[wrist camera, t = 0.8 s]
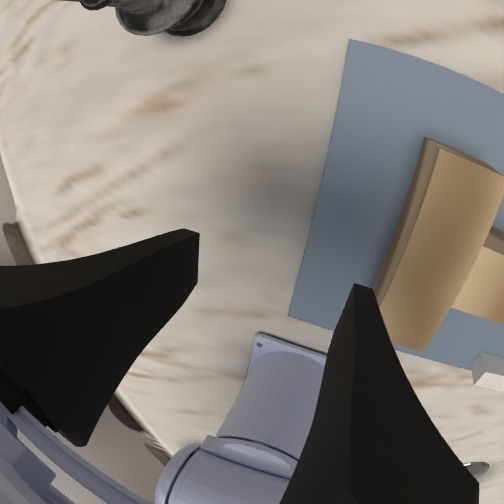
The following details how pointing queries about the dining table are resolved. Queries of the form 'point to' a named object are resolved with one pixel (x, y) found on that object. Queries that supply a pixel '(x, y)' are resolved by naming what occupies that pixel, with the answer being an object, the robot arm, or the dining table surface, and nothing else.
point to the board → (393, 184)
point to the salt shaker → (161, 14)
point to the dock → (488, 371)
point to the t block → (443, 247)
